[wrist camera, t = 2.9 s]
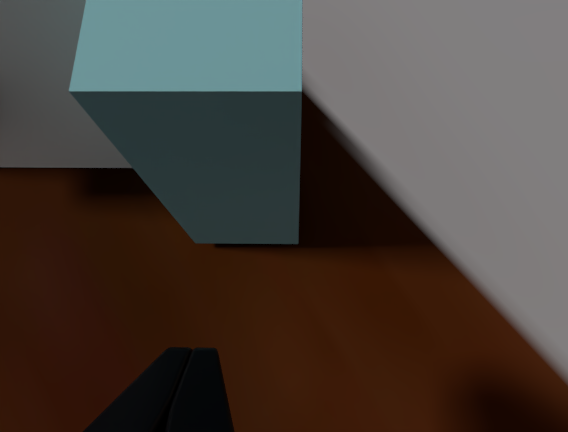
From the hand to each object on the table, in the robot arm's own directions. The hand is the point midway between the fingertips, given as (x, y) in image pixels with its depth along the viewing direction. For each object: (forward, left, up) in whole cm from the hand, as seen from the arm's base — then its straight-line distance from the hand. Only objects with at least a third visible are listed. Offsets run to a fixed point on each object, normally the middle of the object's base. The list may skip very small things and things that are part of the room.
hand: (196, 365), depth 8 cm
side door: (+9, 0, -7) cm, 11 cm away
